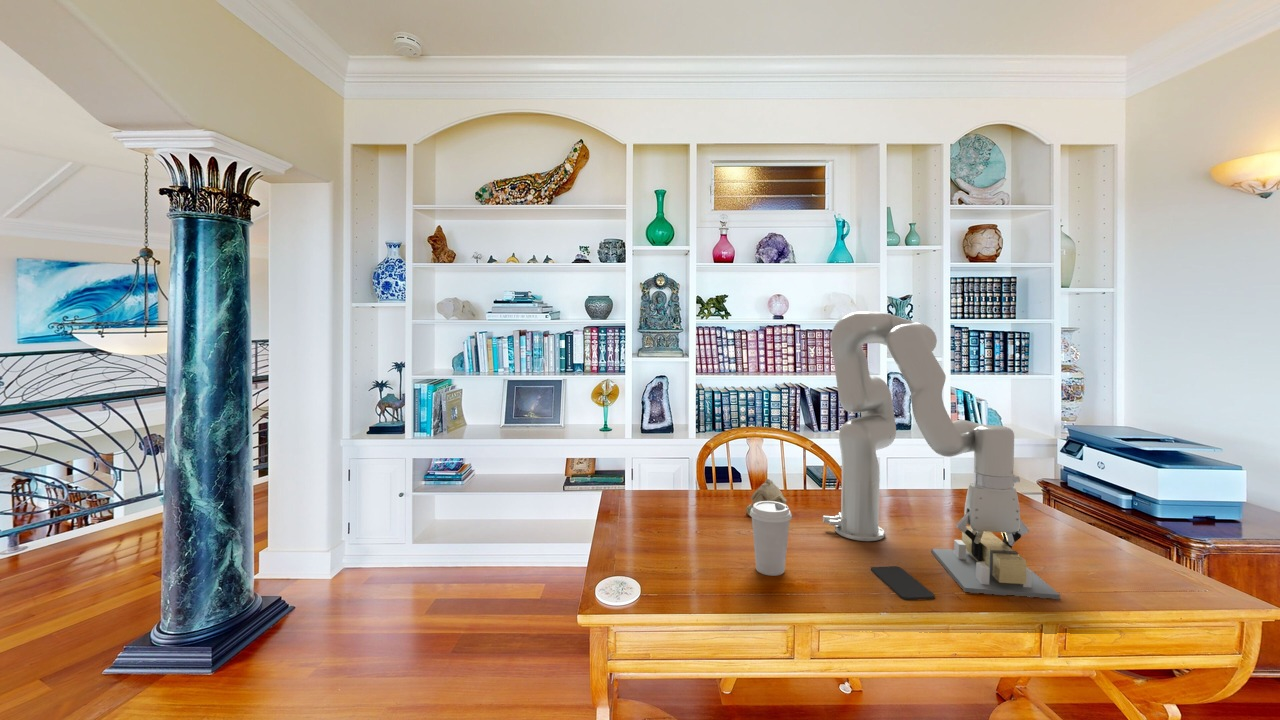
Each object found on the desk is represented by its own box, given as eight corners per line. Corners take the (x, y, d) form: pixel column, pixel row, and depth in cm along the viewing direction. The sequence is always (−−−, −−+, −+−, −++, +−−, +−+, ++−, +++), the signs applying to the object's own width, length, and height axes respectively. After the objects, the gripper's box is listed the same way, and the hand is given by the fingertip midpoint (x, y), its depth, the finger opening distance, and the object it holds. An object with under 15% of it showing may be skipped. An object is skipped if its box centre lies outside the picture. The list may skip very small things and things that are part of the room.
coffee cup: (784, 582, 123) (784, 516, 122) (743, 572, 128) (743, 508, 127) (796, 566, 131) (797, 504, 130) (757, 557, 136) (758, 497, 135)
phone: (899, 565, 130) (937, 596, 115) (899, 569, 130) (937, 600, 115) (868, 566, 130) (903, 597, 115) (868, 570, 130) (902, 601, 115)
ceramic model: (760, 502, 178) (760, 471, 178) (793, 509, 172) (794, 477, 171) (739, 514, 167) (740, 481, 167) (774, 522, 160) (775, 488, 160)
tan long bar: (961, 545, 136) (961, 525, 136) (984, 546, 135) (984, 526, 135) (999, 582, 117) (999, 558, 116) (1026, 584, 116) (1026, 560, 115)
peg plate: (964, 592, 118) (965, 571, 117) (931, 552, 138) (932, 534, 138) (1059, 599, 114) (1060, 578, 114) (1011, 557, 135) (1012, 539, 135)
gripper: (1026, 477, 127) (1024, 555, 128) (946, 475, 130) (944, 551, 131) (1044, 486, 120) (1041, 569, 121) (958, 483, 123) (956, 564, 124)
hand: (991, 558), depth 126 cm, fingers closed on tan long bar, 5 cm apart
